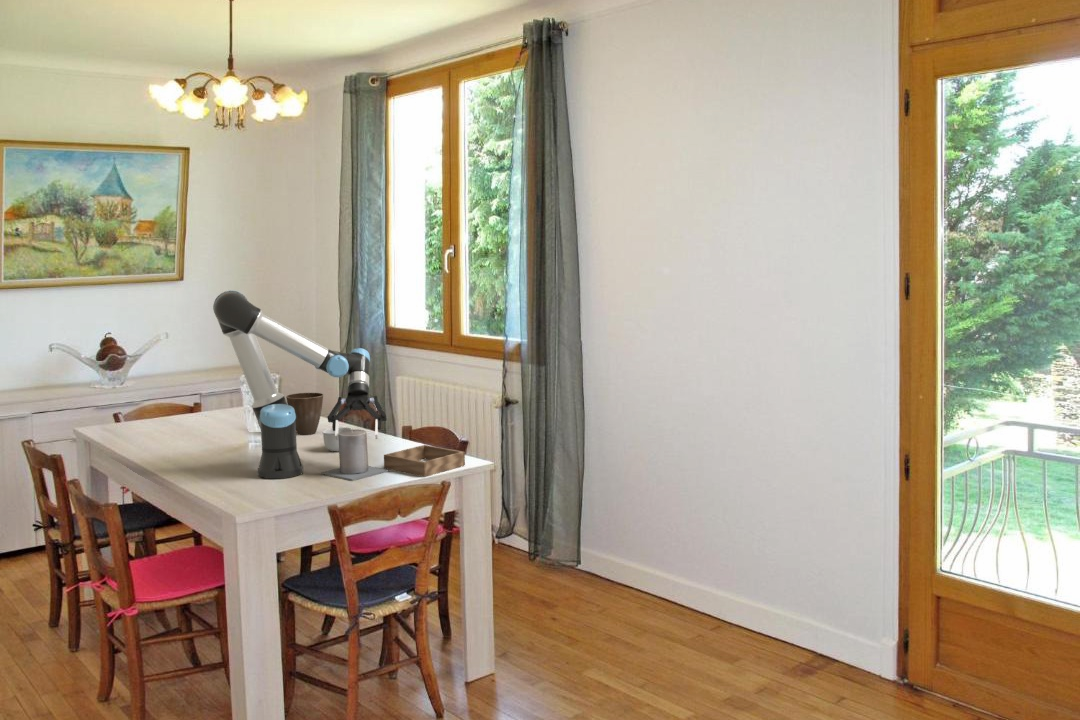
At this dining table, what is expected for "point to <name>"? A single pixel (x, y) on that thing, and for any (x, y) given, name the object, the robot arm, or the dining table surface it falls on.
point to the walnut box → (410, 461)
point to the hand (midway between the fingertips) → (356, 437)
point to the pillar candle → (353, 451)
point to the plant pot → (306, 411)
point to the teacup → (332, 438)
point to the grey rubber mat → (353, 477)
